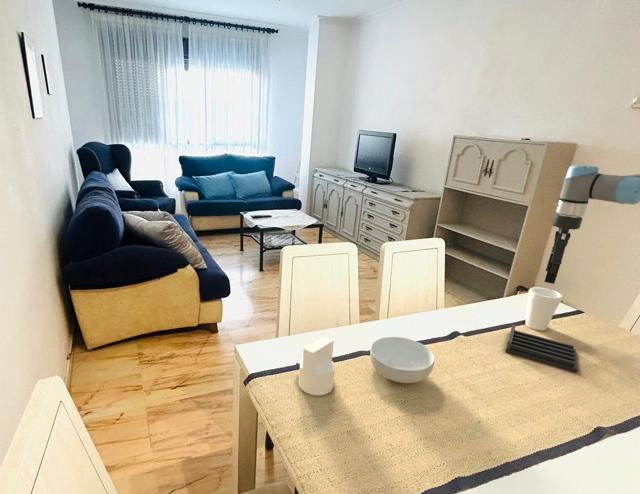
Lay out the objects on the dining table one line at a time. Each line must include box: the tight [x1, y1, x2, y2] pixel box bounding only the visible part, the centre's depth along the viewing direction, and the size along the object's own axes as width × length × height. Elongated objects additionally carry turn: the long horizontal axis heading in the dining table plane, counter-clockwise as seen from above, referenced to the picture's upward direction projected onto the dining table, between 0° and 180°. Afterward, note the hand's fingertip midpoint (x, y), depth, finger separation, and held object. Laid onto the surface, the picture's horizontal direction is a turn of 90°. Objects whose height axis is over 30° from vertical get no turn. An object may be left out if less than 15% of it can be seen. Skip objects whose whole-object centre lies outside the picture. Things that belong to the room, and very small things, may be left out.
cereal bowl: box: [369, 336, 436, 384], centre depth 105 cm, size 17×17×7 cm
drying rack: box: [504, 324, 578, 374], centre depth 119 cm, size 18×14×4 cm
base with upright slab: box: [298, 335, 336, 396], centre depth 98 cm, size 9×9×12 cm
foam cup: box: [524, 286, 563, 331], centre depth 134 cm, size 10×9×13 cm
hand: (549, 277), depth 130 cm, fingers open, 13 cm apart
